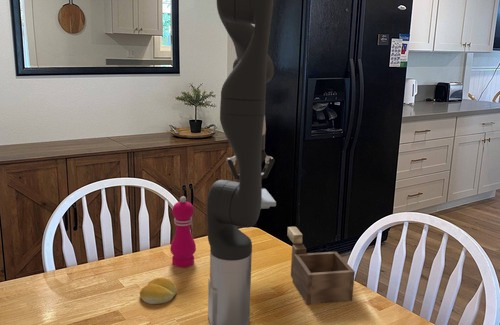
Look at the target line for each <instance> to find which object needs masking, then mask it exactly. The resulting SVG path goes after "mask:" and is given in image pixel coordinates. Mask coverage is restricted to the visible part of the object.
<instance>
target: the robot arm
mask: <svg viewBox="0 0 500 325" xmlns="http://www.w3.org/2000/svg"><path fill="white" fill-rule="evenodd" d="M273 8H274V0H216V10H217V13H218V17H219V18H220V21H221V23H222V25H223V27H224V28H225V31H226V32H227V34H228V35H229V37H230V39H231V41H232V43H233V46H234V49H235V55H236V58H235V59H234V61H233V63H232V71H231V72H230V73H229V74H228V76H227V78H226V79H225V81H224V82H223V84H222V87H221V90H220V105H219V106H220V107H219V122H220V125H221V128H222V130H223V133H224V136H225V137H226V139H227V141H228V143H229V145H230V147H231V149H232V151H233V153H234V155H233V156H231V157H226V164H227V166H228V168H229V170H230V173H231V174H232V177H233V179H235V180H238V181H234V180H226V179H219V180H216V181H215V182H213V183H212V185H211V186H210V187H209V191H208V194H207V200H206V223H207V226H206V227H207V240H208V244H209V248H210V250H209V252H210V253H209V279H208V288H207V289H208V291H207V292H208V293H207V296H208V297H207V301H208V302H207V304H208V305H207V317H208V322H209V325H249V324H250V319H251V318H250V316H251V288H252V287H251V283H252V280H251V279H252V262H253V261H252V258H253V257H252V254H253V242H252V239H251V238H250V237H249V236H248V235H247V234H245V233H244V232H243V231H241V230H240V229H239V228H238V227H241V228H252V227H253V226H255V224H256V223H257V222H258V220H259V217H260V214H261V210H262V209H261V201H262V189H263V187H262V186H263V185H262V181H263V180H264V179H267V178H268V176H269V174H270V173H271V170H272V168H273V166H274V164H275V162H276V159H275V158H274V157H273V156H270V155H267V153H266V151H265V149H266V146H265V145H266V131H267V127H266V96H267V95H266V94H267V93H266V90H267V83H269V82H270V81H272V79H273V76H274V72H275V67H274V64H273V63H274V62H273V60H272V58H271V57H270V55H269V54H268V51H269V43H270V36H271V35H270V34H271V28H272V27H271V25H272V19H273V17H272V16H273ZM236 162H237V166H238V171H237V169H236V167H235V165H236ZM263 162H265V165H264V166H263V169H262V164H263Z"/></svg>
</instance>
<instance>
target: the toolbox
mask: <svg viewBox="0 0 500 325" xmlns="http://www.w3.org/2000/svg"><path fill="white" fill-rule="evenodd" d="M291 246H292V247H291V260H290V261H291V262H290V264H291V265H290V277H291V279H292V283H293V285H294V286H295V288H296V290H297V292H298V293H299V295H300V297H301V298H302V299H303V301H304V303H305V305H306V306H308V305H318V304H319V305H320V304H331V303H344V302H352V301H353V296H354V295H353V293H354V285H355V284H354V283H355V273H356V272H355V270H354V269H353V268H352V267H351V266H350V265H349V264H348V263H347V262H346V260H345V259H344V258H343V257H342V256H341V255H340V254H339V253H338V251H327V252H326V251H325V252H307V248H306V246H305V245H304V244H303V243H299V244H292V245H291Z"/></svg>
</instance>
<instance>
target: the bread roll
mask: <svg viewBox="0 0 500 325" xmlns="http://www.w3.org/2000/svg"><path fill="white" fill-rule="evenodd" d="M176 294H177V286H176V285H175V283H174V282H173V281H171V279H168V278H166V277H157V278H154V279H152V280H150V281H149V282H148V283H147V285H145V286H143V287H142V288H141V290H140V291H139V297H140V298H141V300H142V301H144V302H145V303H147V304H150V305H159V304H165V303H168V302H170V301H171V300H172V299H173V298H174V297H175V295H176Z"/></svg>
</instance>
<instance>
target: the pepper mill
mask: <svg viewBox="0 0 500 325" xmlns="http://www.w3.org/2000/svg"><path fill="white" fill-rule="evenodd" d="M171 210H172V215H173V217H174V218H173V221H174V225H175V234H174V237H173V239H172V240H171V243H170V253H171V255H172V258H171V261H172V262H171V263H172V265H173V266H175V267H178V268H188V267H191V266H192V265H194V263H195V255H194V254H196V250H197V246H196V242H195V240H194V238H193V235H192V231H191V225H192V224H193V221H192V220H193V218H192V216H193V215H194V214H195V209H194V206H193V204H192V203H191V202H189V201H187V198H186V196H184V195H183V196H181V197H180V198H179V201H177V202H176V203H174V204H173V206H172V209H171Z"/></svg>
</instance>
